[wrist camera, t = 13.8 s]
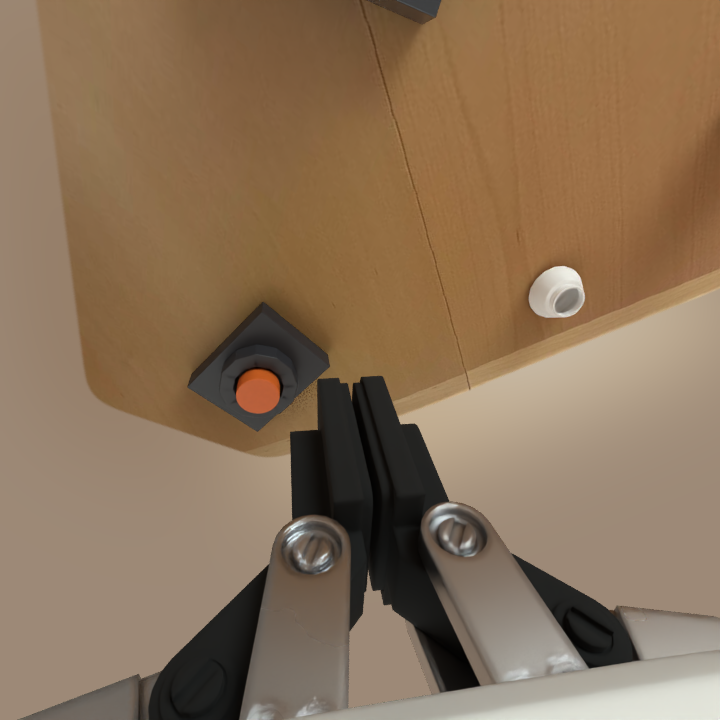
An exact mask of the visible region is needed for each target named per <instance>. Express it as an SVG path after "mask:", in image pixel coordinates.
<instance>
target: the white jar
mask: <svg viewBox="0 0 720 720" xmlns="http://www.w3.org/2000/svg"><path fill="white" fill-rule="evenodd" d="M528 299H529V303H530V307H531V308H532V310H533V311H534V312H535V313H536V314H537V315H540V316H543V317H545V318H556V317H569V316H571V315H573V314H575V313H576V312H577V311H579V309H580V308H581V307H582V305H583V303H584V300H585V294H584V291H583V286H582V282H581V278H580V276H579V275H578V274H577V272H576V271H575V270H573V269H571V268H568V267H566V266H559V267H553V268H551V269H549V270H547V271H545V272H543V273H542V274H541V275H540V276H539V277H538V278H537V279H536V280H535V282H534V284H533V285H532V287H531V289H530V293H529V298H528Z"/></svg>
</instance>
